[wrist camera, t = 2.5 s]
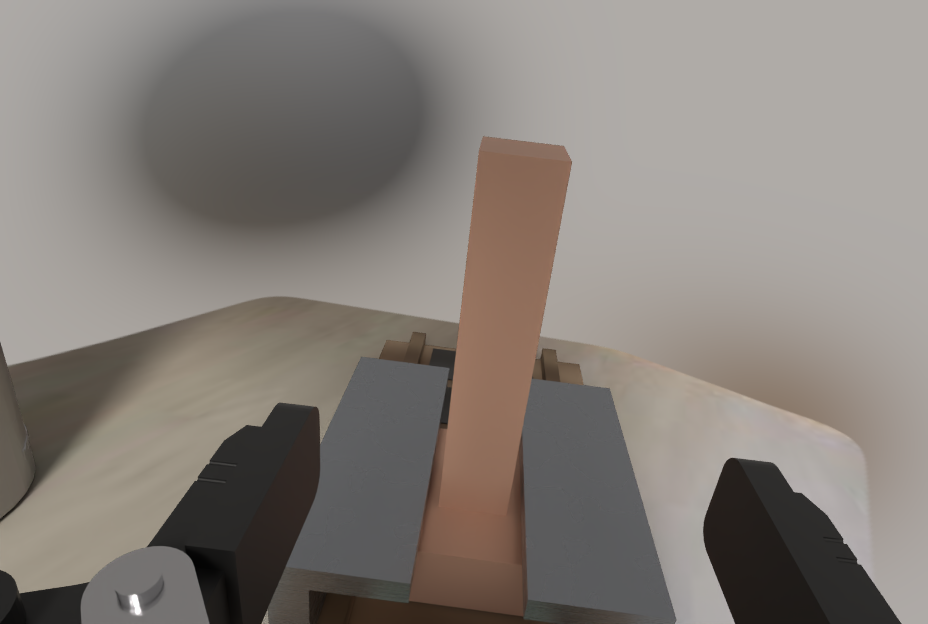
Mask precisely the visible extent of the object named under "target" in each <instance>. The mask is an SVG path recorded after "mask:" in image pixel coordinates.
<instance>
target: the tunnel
mask: <svg viewBox="0 0 928 624" xmlns="http://www.w3.org/2000/svg"><path fill="white" fill-rule="evenodd" d="M448 377H449V368H445V367H437V366H430V365H422V364H414V363H406V362H398V361H391V360H383V359H375V358H367V357H361V359H360V361H359V363H358V365H357V367H356V369H355V371H354V374H353V376H352V378H351V380H350V382H349V384H348V386H347V389H346V391H345V393H344V395H343V397H342V399H341V401H340V404H339V406H338V408H337V410H336V412H335V414H334V416H333V419H332V421H331V423H330V425H329V427H328V429H327V431H326V434H325V436H324V438H323V440H322V442H321V444H320V478H319V484H318V489H317V493H316V496H315V499H314V502H313V504H312V506H311V509H310V511H309V513H308V516H307V518H306V520H305V523H304V525H303V527H302V530H301V532H300V534H299V537H298V539H297V541H296V544H295V546H294V548H293V551H292V553H291V555H290V558H289V560H288V562H287V565H286V567H285V569H284V572H283V574H282V576H281V579H280V581H279V583H278V586H277V588H276V590H275V593H274V595H273V597H272V600H271V602H270V604H269V607H268V618H269V624H317V622H318V619H319V616H320V613H321V610H322V607H323V604H324V601H325V598H326V595H327V592H328V593H335V594H342V595H350V596H357V597H364V598H372V599H379V600H386V601H394V602H401V603H409V598H410V592H411V587H412V581H413V575H414V570H415V564H416V559H417V553H418V548H419V542H420V536H421V531H422V525H423V520H424V514H425V508H426V503H427V497H428V492H429V486H430V480H431V475H432V469H433V464H434V458H435V452H436V447H437V441H438V436H439V430H440V424H441V419H442V413H443V408H444V402H445V396H446V391H447V385H448ZM519 459H520V500H521V541H522V581H523V619H526V620H533V621H541V622H548V623H555V624H675V622H676V617H675V614H674V610H673V607H672V603H671V600H670V597H669V593H668V590H667V586H666V583H665V579H664V576H663V572H662V569H661V565H660V562H659V558H658V555H657V551H656V548H655V544H654V541H653V538H652V534H651V531H650V527H649V524H648V520H647V517H646V513H645V510H644V506H643V503H642V499H641V496H640V492H639V489H638V485H637V482H636V479H635V475H634V472H633V468H632V465H631V461H630V458H629V454H628V451H627V447H626V444H625V440H624V437H623V433H622V430H621V426H620V423H619V420H618V416H617V413H616V409H615V406H614V402H613V399H612V395H611V392H610V389H609V388H601V387H593V386H586V385H578V384H570V383H562V382H554V381H547V380H539V379H532V380H531V385H530V391H529V396H528V401H527V407H526V412H525V417H524V423H523V428H522V434H521V439H520V444H519Z"/></svg>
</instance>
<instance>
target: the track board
mask: <svg viewBox="0 0 928 624" xmlns="http://www.w3.org/2000/svg"><path fill="white" fill-rule="evenodd" d="M425 339H426V333H418V332H413V334H412V337H411V340H410V343H407V342H399V341H391V340H386V343H385V345H384V348H383V350H382V353H381V355H380V358H379V359H383V360H391V361H398V362H406V363H414V364H422V365H430V366H437V367H445V368H449V377H448V385H447V391H446V396H445V402H444V408H443V413H442V419H441V424H440V428H442V429H447V428H448V419H449V410H450V401H451V392H452V384H453V375H454V366H455V357H456V349H454V348H446V347H438V346H430V345H425ZM532 379H539V380H547V381H554V382H562V383H570V384H578V385H584V384H583V380H582V375H581V370H580V366H579V364H571V363H564V362H557V356H556V350H552V349H544V348H543V349H542V354H541V360H540V359H535V364H534V369H533V375H532ZM317 624H555V623H548V622H541V621H533V620H526V619H523V616H516V615H509V614H502V613H494V612H487V611H480V610H472V609H465V608H458V607H450V606H443V605H435V604H428V603H421V602H413V601H409V603H401V602H394V601H386V600H379V599H372V598H364V597H357V596H350V595H342V594H335V593H328V592H327V595H326V598H325V601H324V604H323V607H322V610H321V613H320V616H319V619H318V622H317Z"/></svg>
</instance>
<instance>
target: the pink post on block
mask: <svg viewBox="0 0 928 624" xmlns="http://www.w3.org/2000/svg"><path fill="white" fill-rule="evenodd" d="M571 165H572V161H571V159H570V157H569V155H568V153H567V151H566V149H565V147H564V146H559V145H551V144H543V143H534V142H526V141H517V140H509V139H501V138H492V137H484V136H483V138H482V142H481V146H480V149H479V155H478V164H477V173H476V183H475V191H474V199H473V209H472V217H471V226H470V234H469V244H468V252H467V261H466V270H465V279H464V287H463V296H462V305H461V313H460V322H459V331H458V340H457V349H456V357H455V366H454V375H453V384H452V392H451V401H450V410H449V419H448V428H447V429H442V428H440V430H439V436H438V441H437V447H436V452H435V458H434V464H433V469H432V475H431V480H430V486H429V492H428V497H427V503H426V508H425V514H424V520H423V525H422V531H421V536H420V542H419V548H418V553H417V559H416V564H415V570H414V575H413V581H412V587H411V592H410V598H409V601H413V602H421V603H428V604H435V605H443V606H450V607H458V608H465V609H472V610H480V611H487V612H494V613H502V614H509V615H516V616H523V581H522V541H521V500H520V459H519V444H520V439H521V434H522V428H523V423H524V417H525V412H526V407H527V401H528V396H529V391H530V385H531V380H532V375H533V369H534V364H535V358H536V353H537V348H538V342H539V337H540V331H541V326H542V321H543V315H544V309H545V305H546V299H547V294H548V289H549V283H550V278H551V272H552V267H553V262H554V256H555V250H556V245H557V240H558V235H559V229H560V224H561V219H562V213H563V207H564V203H565V197H566V191H567V186H568V181H569V176H570V170H571Z"/></svg>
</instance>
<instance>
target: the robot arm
mask: <svg viewBox="0 0 928 624" xmlns="http://www.w3.org/2000/svg"><path fill="white" fill-rule="evenodd" d="M35 469H36V466H35V462H34V458H33V454H32V451H31V447H30V442H29V435H28V432H27V429H26V426H25V424H24V422H23V419H22V415H21V412H20V409H19V405H18V401H17V398H16V394H15V391H14V388H13V384H12V381H11V377H10V374H9V371H8V367H7V364H6V360H5V357H4V354H3V350H2V347H1V343H0V518H1V517H3V516H4V515H5V514H6V513H7V512H9V511H10V510H11V509H12V508H13V507H14V506H15V505H16V504H17V503H18V502H19V500H20V499H21V498H22V497H23V496H24V495H25V493H26V492H27V490H28V488H29V487H30V485H31V483H32V481H33V479H34V474H35ZM319 478H320V421H319V410H318V408H317V407H312V406H304V405H295V404H287V403H278V404H277V405H276V406H275V407H274V409H273V410H272V412H271V413H270V415H269V416H268V418H267V419H266V421H265V423H264V424H263V426H262V427H258V426H250V425H246V426H245V427H243V428H242V429H241V430H239V431H238V432H236V433H235V434H233V435H232V436H230V437H229V438H227V439H226V440H224V442H223V443H222V444H221V446H220V447H219V448H218V450H217V451H216V453H215V454H214V455H213V457H212V458H211V459H210V463H209V464H207V465H206V466H205V468H204V469H203V471H202V472H201V473H200V475H199V476H198V480H197V481H195V482H194V483H193V484H192V486H191V487H190V488H189V490H188V491H187V493H186V494H185V495H184V497H183V498H182V500H181V501H180V502H179V504H178V505H177V506H176V508H175V509H174V511H173V512H172V513H171V515H170V516H169V517H168V519H167V520H166V522H165V523H164V524H163V526H162V527H161V528H160V530H159V531H158V533H157V534H156V535H155V537H154V538H153V540H152V541H151V542H150V544H149V545H148V546H147V547H146V548H142V549H138V550H134V551H132V552H129V553H127V554H124V555H122V556H121V557H119V558H117V559H115V560H113V561H112V562H110V563H109V564H107V565H106V566H105V567H104V568H103V569H101V570H100V571H99V572H98V573H97V574H96V575H95V576H94V577H93V578H92V580H91V581H90V582H88V583H83V584H78V585H72V586H66V587H59V588H52V589H46V590H39V591H33V592H26V593H20V594H19V591H18V588H17V585H16V582H15V580H14V579H13V578H12V576H11V575H9V574H8V573H6V572H4V571H1V570H0V624H261V623H262V621H263V618H264V616H265V614H266V611H267V609H268V607H269V604H270V602H271V600H272V597H273V595H274V593H275V590H276V588H277V586H278V583H279V581H280V579H281V576H282V574H283V572H284V569H285V567H286V565H287V562H288V560H289V558H290V555H291V553H292V551H293V548H294V546H295V544H296V541H297V539H298V537H299V534H300V532H301V530H302V527H303V525H304V523H305V520H306V518H307V516H308V513H309V511H310V509H311V506H312V504H313V502H314V499H315V496H316V493H317V489H318V484H319ZM703 536H704V543H705V548H706V551H707V554H708V556H709V559H710V561H711V564H712V566H713V569H714V571H715V574H716V576H717V579H718V581H719V584H720V586H721V589H722V591H723V594H724V597H725V599H726V602H727V604H728V607H729V609H730V612H731V614H732V617H733V619H734V622H735V624H901V622H900V621H899V620H898V618H897V617H896V615H895V614H894V612H893V611H892V609H891V608H890V606H889V605H888V604H887V602H886V601H885V599H884V598H883V596H882V595H881V593H880V592H879V590H878V589H877V588H876V586H875V585H874V583H873V582H872V580H871V579H870V577H869V576H868V574H867V573H866V571H865V570H864V569H863V567H862V566H861V565H859V564H857V558H856V557H855V555H854V554H853V552H852V551H851V550H850V548H849V547H848V545H847V544H844V543H843V538H842V536H841V535H840V534H839V532H838V531H837V529H836V528H835V526H834V525H833V523H832V522H831V520H830V519H829V518H828V516H827V515H826V514H825V513H824V512H823V511H822V510H820V509H819V508H818V507H817V506H816V505H815V504H813V503H812V502H811V501H810V500H809V499H808V498H807V497H805V496H804V495H803V494H802V493H795V492H793V490H792V489H791V487H790V486H789V484H788V483H787V481H786V479H785V478H784V476H783V475H782V473H781V472H780V470H779V469H778V467H777V466H776V465H775V464H773V463H771V462H763V461H755V460H746V459H738V458H730V459H728V460H727V461H726V463H725V464H724V467H723V469H722V472H721V475H720V477H719V480H718V483H717V486H716V488H715V491H714V494H713V496H712V499H711V502H710V505H709V507H708V510H707V513H706V516H705V520H704V527H703Z"/></svg>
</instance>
